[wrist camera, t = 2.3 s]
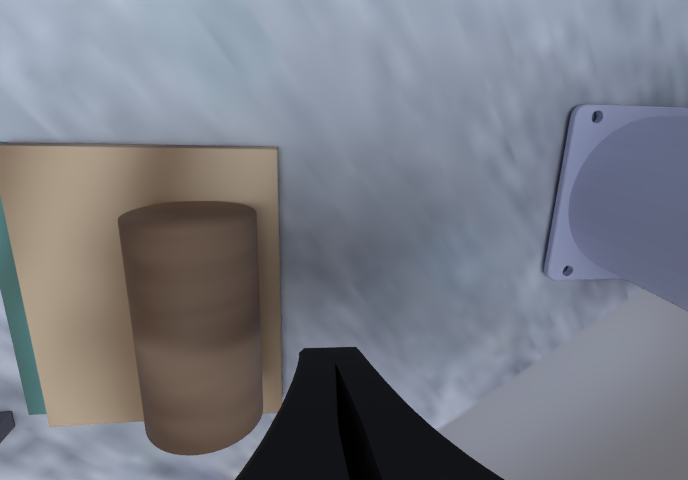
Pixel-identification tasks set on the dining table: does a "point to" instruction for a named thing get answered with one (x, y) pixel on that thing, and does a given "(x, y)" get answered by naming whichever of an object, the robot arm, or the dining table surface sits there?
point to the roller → (195, 321)
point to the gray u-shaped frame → (5, 424)
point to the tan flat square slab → (111, 263)
